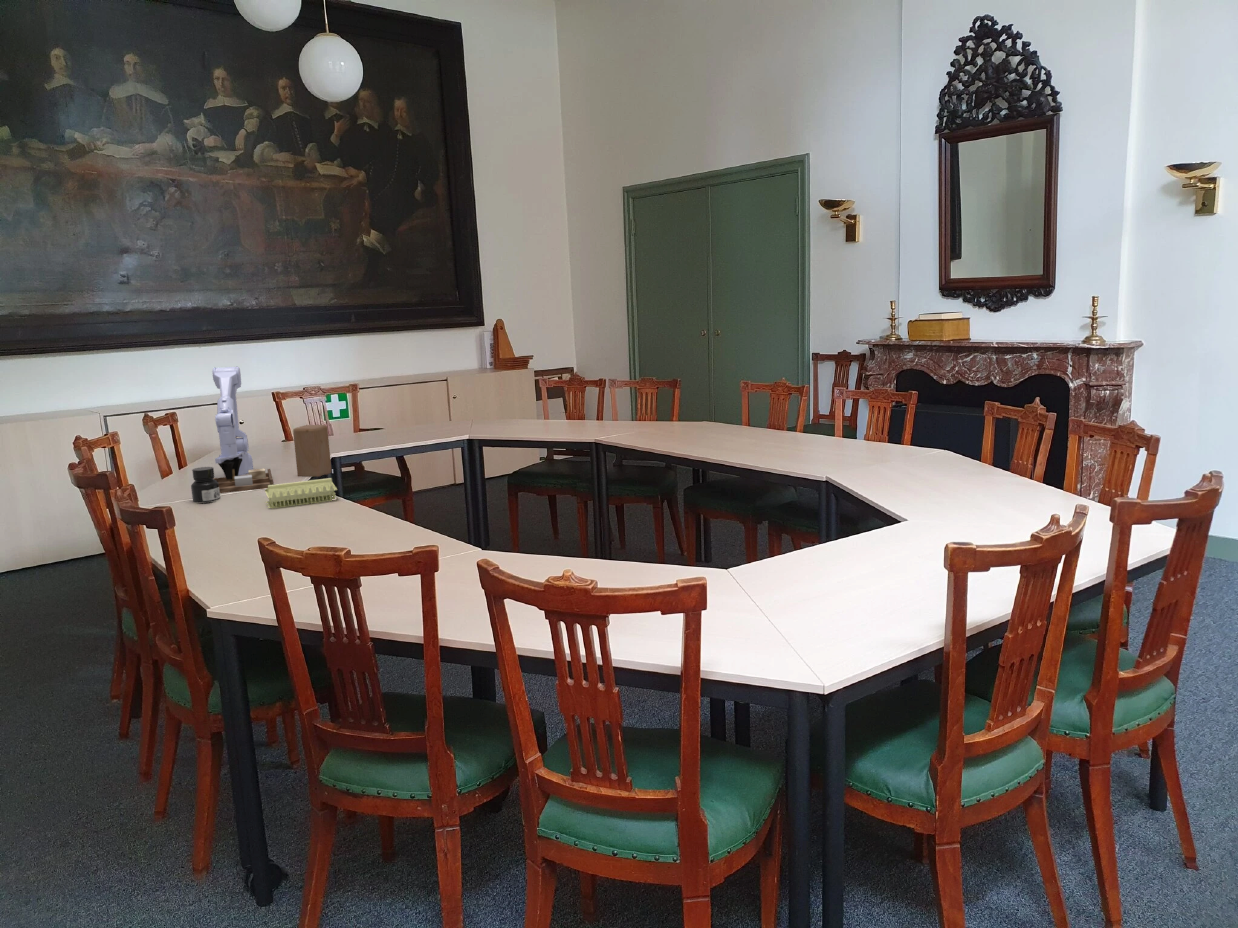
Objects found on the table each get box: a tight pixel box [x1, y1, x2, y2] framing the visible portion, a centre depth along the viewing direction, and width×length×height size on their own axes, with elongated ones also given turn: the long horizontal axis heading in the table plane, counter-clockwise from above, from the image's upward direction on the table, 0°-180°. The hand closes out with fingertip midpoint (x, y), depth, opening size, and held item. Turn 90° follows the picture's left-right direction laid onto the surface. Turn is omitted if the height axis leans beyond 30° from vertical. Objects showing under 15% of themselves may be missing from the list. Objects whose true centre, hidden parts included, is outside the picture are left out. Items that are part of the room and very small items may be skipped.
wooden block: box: [292, 424, 332, 477], centre depth 348 cm, size 10×10×20 cm
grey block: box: [234, 474, 253, 487], centre depth 328 cm, size 6×5×4 cm
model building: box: [264, 477, 338, 509], centre depth 307 cm, size 25×14×7 cm, turn 117°
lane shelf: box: [213, 468, 274, 494], centre depth 333 cm, size 24×24×4 cm
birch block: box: [229, 468, 267, 482], centre depth 338 cm, size 13×5×5 cm, turn 114°
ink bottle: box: [190, 466, 221, 505], centre depth 309 cm, size 10×9×12 cm
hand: (232, 478), depth 337 cm, fingers open, 3 cm apart
